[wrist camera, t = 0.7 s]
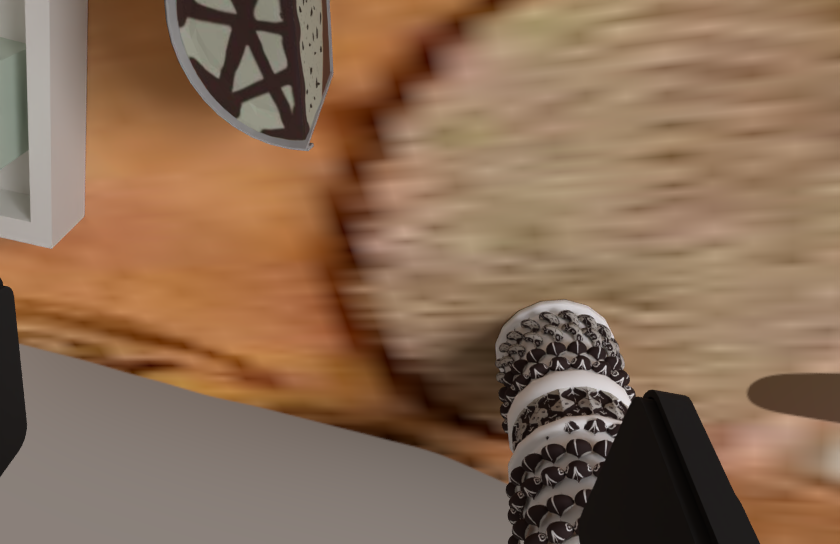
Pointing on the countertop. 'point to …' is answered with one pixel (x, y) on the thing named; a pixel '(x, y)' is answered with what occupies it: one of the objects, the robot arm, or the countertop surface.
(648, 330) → the countertop surface
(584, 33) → the countertop surface
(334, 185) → the countertop surface
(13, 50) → the sage block
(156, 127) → the countertop surface
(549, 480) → the decorative candle
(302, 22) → the food container
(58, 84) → the white tray
